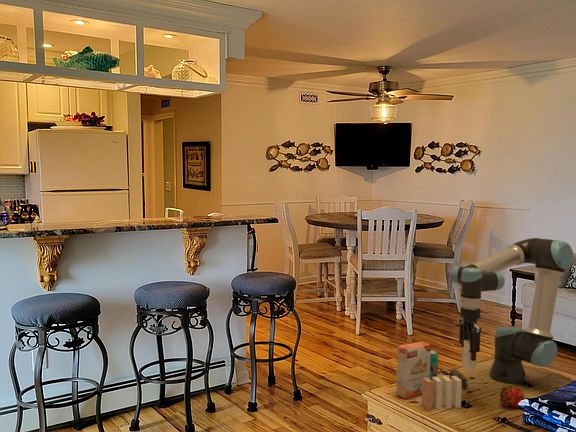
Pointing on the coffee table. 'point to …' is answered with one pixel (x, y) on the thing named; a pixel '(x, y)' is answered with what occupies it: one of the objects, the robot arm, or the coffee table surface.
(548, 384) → the coffee table surface
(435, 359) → the beverage can
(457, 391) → the domino
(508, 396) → the dragon fruit
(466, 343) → the domino
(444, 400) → the domino
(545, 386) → the coffee table surface
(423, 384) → the domino
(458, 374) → the rhino figurine
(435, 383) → the domino
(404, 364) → the cracker box
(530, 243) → the robot arm
